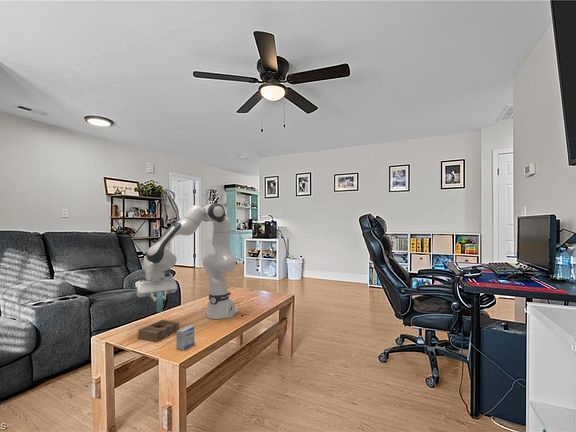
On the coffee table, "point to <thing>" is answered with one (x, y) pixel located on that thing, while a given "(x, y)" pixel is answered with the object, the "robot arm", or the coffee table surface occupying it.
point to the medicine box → (185, 337)
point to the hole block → (158, 331)
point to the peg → (159, 301)
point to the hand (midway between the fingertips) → (160, 300)
